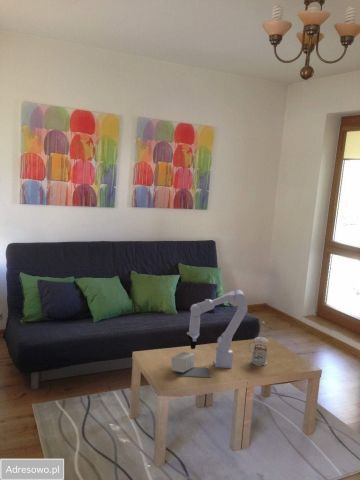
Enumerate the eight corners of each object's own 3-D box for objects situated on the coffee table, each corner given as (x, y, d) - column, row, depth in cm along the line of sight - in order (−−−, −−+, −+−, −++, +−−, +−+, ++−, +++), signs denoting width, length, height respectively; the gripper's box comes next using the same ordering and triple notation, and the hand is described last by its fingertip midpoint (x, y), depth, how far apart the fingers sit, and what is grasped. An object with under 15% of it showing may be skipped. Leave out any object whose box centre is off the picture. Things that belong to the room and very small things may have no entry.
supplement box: (183, 364, 236) (170, 370, 225) (183, 351, 236) (171, 356, 225) (194, 367, 232) (182, 373, 221) (194, 353, 232) (183, 358, 221)
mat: (208, 368, 233) (208, 367, 233) (210, 377, 222) (210, 377, 222) (176, 366, 232) (176, 365, 232) (176, 376, 222) (176, 375, 222)
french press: (266, 367, 239) (270, 325, 236) (246, 363, 243) (250, 322, 239) (268, 360, 249) (272, 320, 245) (249, 356, 252) (253, 316, 248)
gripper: (186, 320, 243) (185, 343, 245) (188, 329, 228) (186, 353, 230) (199, 321, 243) (197, 343, 245) (200, 330, 229) (199, 354, 231)
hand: (192, 348), depth 238 cm, fingers closed
